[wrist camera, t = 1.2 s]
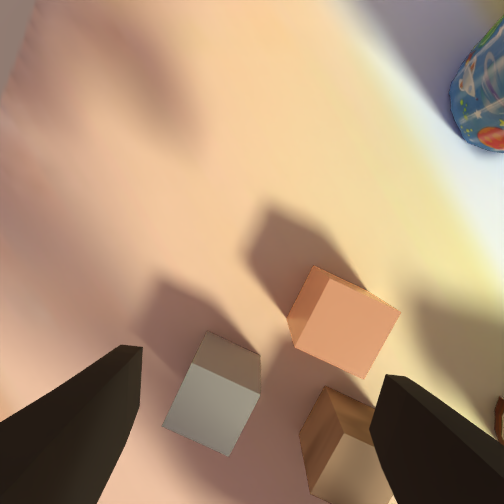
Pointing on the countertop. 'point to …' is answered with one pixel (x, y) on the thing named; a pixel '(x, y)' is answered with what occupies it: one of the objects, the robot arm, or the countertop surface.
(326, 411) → the walnut block
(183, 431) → the slate block
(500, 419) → the food container
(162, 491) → the countertop surface
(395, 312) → the terracotta block
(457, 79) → the snack cup
